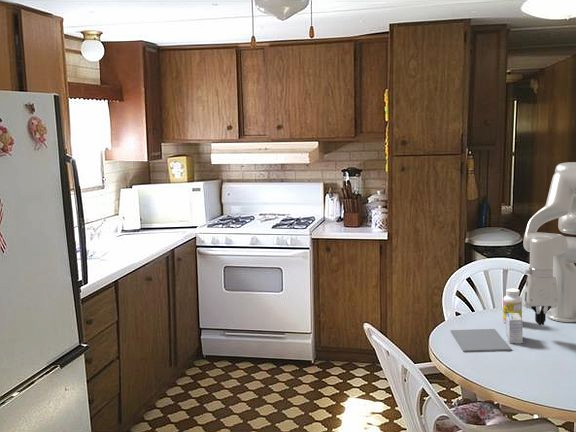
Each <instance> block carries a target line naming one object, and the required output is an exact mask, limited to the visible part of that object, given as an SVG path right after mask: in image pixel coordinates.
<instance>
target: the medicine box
mask: <svg viewBox="0 0 576 432" xmlns="http://www.w3.org/2000/svg"><path fill="white" fill-rule="evenodd" d="M505 324H506V325H505V327H506V328H505V329H506V330H505V334H506V337H507V340H508V342H509V344H513V343H515V344H519V345H521V343H522V344H523V342H524V341H523V339H524V338H523V334H524V333H523V325H524V323H523V318H522V319H521V317H520V315H519V313H507V314H506V323H505Z"/></svg>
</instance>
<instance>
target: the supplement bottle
mask: <svg viewBox="0 0 576 432" xmlns="http://www.w3.org/2000/svg"><path fill="white" fill-rule="evenodd" d="M505 291H506V292H505V293H506V295H504V296H503V301H502V302H503V304H502V305H503V306H502V308H503V311H502V312H503V313H502V318H503V320H502V321H503V323H504V324H506V314H507V313H519V315H520V317H521V319H522V320H523V315H522V314H523V299H522V296H520V289H518V288H513V287H512V288H506V290H505Z"/></svg>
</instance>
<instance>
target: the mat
mask: <svg viewBox="0 0 576 432" xmlns="http://www.w3.org/2000/svg"><path fill="white" fill-rule="evenodd" d="M450 333H451V335H452V336H453V337H454V339H455V341H456V342H457V344H458V346H459V348H461V350H462V352H463V353H471V352H472V353H474V352H475V353H476V352H477V353H478V352H479V353H481V352H510V351H511V352H512V348H511V346H509V344H508V343H507V341H505V339H504V338H503V337H502V336H501V335H500V333H499V332H498V331H497V330H496V329H495V328H480V329H476V328H475V329H451V330H450Z"/></svg>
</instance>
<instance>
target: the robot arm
mask: <svg viewBox="0 0 576 432" xmlns="http://www.w3.org/2000/svg"><path fill="white" fill-rule="evenodd" d="M556 219H558V222H557V223H558V224H557V226H558V230H559V232H561V233H563V234H568V235H576V162H575V161H573V162H572V161H571V162H570V161H568V162H562V163H558V164H557V165H556V166H555V169H554V174H553V175H552V179H551V182H550V186H549V191H548V194H547V198H546V202H545V205H544V206H543V207H542V208H540V209H539V210H538V211H537V212H535V213H534V214H533V215H532V217H531V218H530V219H529V221H528V222H527V225H526V228H525V232H524V235H523V239H522V240H523V243H522V244H523V248H524V250H525V251H526V252H529V267H528V269H525V274H526V275H527V274H528V275H527V277H526V282H525V287H524V288H525V289H524V301H525V302H524V307H525V308H526V309H529V310H533V311H534V313H535V314H534V315H535V316H534V317H535V318H534V319H535V323H536V324H538V325H539V326H544V325H545V323H546V322H547V321H546V320H547V318H548V319H550V320H552V321H556V322H561V323H576V265H575V264H576V237H574V236H565V235H562V234H559V233H549V232H541V231H540V232H539V231H538V229H539V228H540V227H541V226H543V225H544V224H545V223H548V222H550V221H554V220H556ZM546 317H547V318H546Z"/></svg>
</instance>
